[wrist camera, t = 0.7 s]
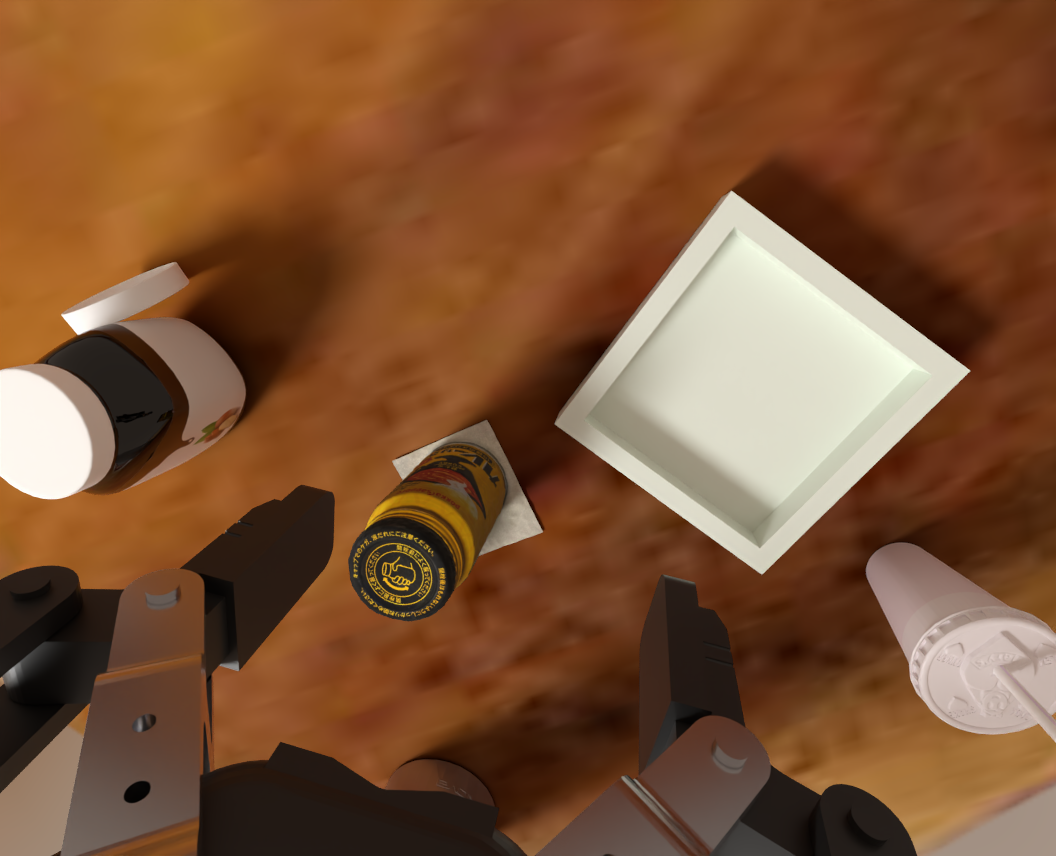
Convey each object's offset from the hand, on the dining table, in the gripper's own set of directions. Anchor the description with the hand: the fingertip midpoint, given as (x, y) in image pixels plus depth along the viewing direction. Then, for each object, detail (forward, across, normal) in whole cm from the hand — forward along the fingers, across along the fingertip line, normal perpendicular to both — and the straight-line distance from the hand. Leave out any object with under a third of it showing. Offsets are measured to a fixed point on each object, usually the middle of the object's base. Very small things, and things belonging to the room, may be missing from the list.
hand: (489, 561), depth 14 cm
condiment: (+22, -5, -12) cm, 25 cm away
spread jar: (+22, -26, -7) cm, 35 cm away
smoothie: (+22, +22, -10) cm, 33 cm away
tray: (+22, +10, -1) cm, 24 cm away
